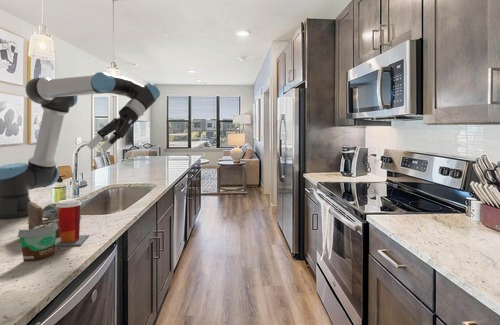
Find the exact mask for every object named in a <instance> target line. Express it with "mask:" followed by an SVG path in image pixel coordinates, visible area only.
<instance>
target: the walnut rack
mask: <svg viewBox="0 0 500 325" xmlns="http://www.w3.org/2000/svg"><path fill="white" fill-rule="evenodd" d="M27 204H28V215H27V219H28V220H27V221H28V230H29V229H31V228H33V227H35V226H38V225H43V224H46V223H49V220H47V221H44V218H42V210H43V207H42V206H40V205H38V204H36V203H35V202H33V201H31V202H27ZM54 221H56V223H57V226H58V229H57V230H56V235H55V239H57V238H58V237H59V236H60V228H59V219H58V220H54Z"/></svg>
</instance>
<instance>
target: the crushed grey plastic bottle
mask: <svg viewBox="0 0 500 325" xmlns="http://www.w3.org/2000/svg"><path fill="white" fill-rule="evenodd" d="M56 205H57V203H49V204H48V205H46V206H45V207H43V208H42V218H43V219H45V220H46V219H49V220H58V209H57V207H56ZM81 219H82V216H81V215H80V220H81Z"/></svg>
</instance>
